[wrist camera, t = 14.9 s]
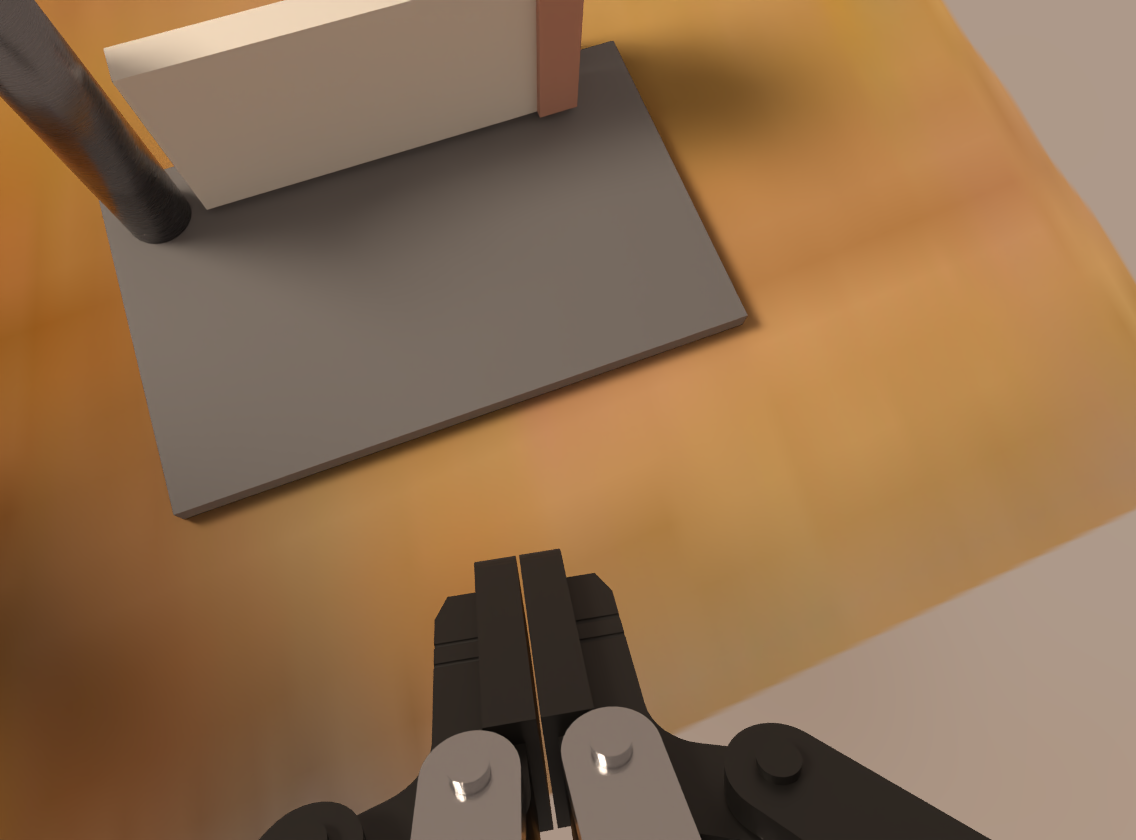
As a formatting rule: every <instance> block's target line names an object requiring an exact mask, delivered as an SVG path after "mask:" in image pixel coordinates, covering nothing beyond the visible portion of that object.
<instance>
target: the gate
mask: <svg viewBox="0 0 1136 840" xmlns="http://www.w3.org/2000/svg"><path fill="white" fill-rule="evenodd" d="M583 2H584V0H284V1H281V2H277V3H273V4H269V5H266V6H262V7H258V8H254V9H250V10H247V11H243V12H239V13H235V14H232V15H228V16H224V17H220V18H216V19H213V20H209V21H205V22H201V23H198V24H194V25H190V26H186V27H182V28H179V29H175V30H171V31H167V32H164V33H160V34H156V35H152V36H148V37H145V38H141V39H137V40H133V41H130V42H126V43H122V44H118V45H114V46H111V47H107V48H103V49H104V53H105V57H106V61H107V64H108V68H109V72H110V76H111V80H112V82H113V84H114V85H115V86H116V88H117V89H118V90H119V92H120V93H121V94H122V96H123V97H124V99H125V100H126V101H127V103H128V104H129V105H130V107H131V108H132V109H133V111H134V112H135V113H136V115H137V116H138V117H139V119H140V120H141V122H142V123H143V124H144V126H145V127H146V128H147V130H148V131H149V132H150V134H151V135H152V136H153V138H154V139H155V140H156V142H157V143H158V145H159V146H160V147H161V149H162V150H163V151H164V153H165V154H166V155H167V157H168V158H169V159H170V161H171V162H172V163H173V165H174V166H175V168H176V169H177V170H178V172H179V173H180V174H181V176H182V177H183V178H184V180H185V181H186V182H187V184H188V185H189V186H190V188H191V189H192V191H193V192H194V193H195V195H196V196H197V197H198V199H199V200H200V201H201V203H202V204H203V205H204V207H205V208H206V209H207V210H208V209H211V208H215V207H218V206H221V205H225V204H228V203H232V202H235V201H238V200H242V199H245V198H248V197H252V196H255V195H258V194H262V193H265V192H268V191H272V190H275V189H279V188H282V187H285V186H289V185H292V184H295V183H299V182H302V181H305V180H309V179H312V178H315V177H319V176H322V175H326V174H329V173H332V172H336V171H339V170H342V169H346V168H349V167H352V166H356V165H359V164H362V163H366V162H369V161H373V160H376V159H379V158H383V157H386V156H389V155H393V154H396V153H399V152H403V151H406V150H410V149H413V148H416V147H420V146H423V145H426V144H430V143H433V142H436V141H440V140H443V139H446V138H450V137H453V136H457V135H460V134H463V133H467V132H470V131H473V130H477V129H480V128H483V127H487V126H490V125H493V124H497V123H500V122H504V121H507V120H510V119H514V118H517V117H520V116H524V115H527V114H530V113H534V112H538V114H539V117H540V118H541V117H544V116H547V115H551V114H554V113H557V112H561V111H564V110H567V109H571V108H574V107H577V99H578V83H579V67H580V51H581V34H582V18H583Z"/></svg>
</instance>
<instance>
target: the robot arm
mask: <svg viewBox="0 0 1136 840" xmlns="http://www.w3.org/2000/svg"><path fill="white" fill-rule="evenodd" d="M519 557H520V565H521V573H522V580H523V588H524V595H525V603H526V610H527V618H528V625H529V633H530V640H531V648H532V655H533V663H534V670H535V678H536V685H537V693H538V700H539V708H540V715H541V722H542V728H543V735H544V741H545V748H546V754H547V760H548V767H549V773H550V780H551V786H552V793H553V799H554V805H555V812H556V818H557V824H558V828H562V827H567V826H571V829H572V836H573V840H991V839H989V838H987V837H985V836H984V835H982V834H980V833H978V832H977V831H975V830H973V829H972V828H970V827H968V826H966V825H965V824H963V823H961V822H959V821H958V820H956V819H954V818H953V817H951V816H949V815H947V814H945V813H944V812H942V811H940V810H939V809H937V808H935V807H934V806H932V805H930V804H928V803H927V802H925V801H923V800H922V799H920V798H918V797H916V796H915V795H913V794H911V793H909V792H908V791H906V790H904V789H902V788H901V787H899V786H897V785H895V784H894V783H892V782H890V781H888V780H887V779H885V778H883V777H882V776H880V775H878V774H877V773H875V772H873V771H871V770H870V769H868V768H866V767H864V766H862V765H861V764H859V763H858V762H856V761H854V760H852V759H851V758H849V757H847V756H845V755H843V754H842V753H840V752H838V751H836V750H835V749H833V748H831V747H830V746H828V745H826V744H825V743H823V742H821V741H819V740H818V739H816V738H814V737H813V736H811V735H809V734H807V733H806V732H804V731H801V730H800V729H797V728H795V727H792V726H789V725H784V724H779V723H763V724H758V725H753V726H751V727H748V728H746V729H744V730H742V731H741V732H739V733H738V734H737V735H736V736H735V737H734V738H733V739H732V740H731V742H730V743H729V745H728V746H720V745H711V744H702V743H695V742H689V741H686V740H683V739H680V738H678V737H676V736H674V735H671V734H670V733H668V732H667V731H665V730H664V729H662V728H661V727H660V726H659V725H658V724H657V723H656V722H655V721H654V720H653V719H652V718H651V716H650V714H649V713H648V711H647V708H646V706H645V703H644V700H643V696H642V693H641V689H640V686H639V682H638V679H637V675H636V672H635V669H634V665H633V662H632V658H631V655H630V651H629V648H628V644H627V641H626V637H625V636H624V630H623V627H622V623H621V620H620V618H619V613H618V609H617V606H616V603H615V599H614V596H613V592H612V590H611V589H610V588H609V587H608V586H607V585H606V584H605V583H604V582H603V581H602V580H601V579H600V578H599V577H598V576H597V575H596V574H595V573H591V574H585V575H579V576H573V577H567V578H566V574H565V569H564V565H563V560H562V555H561V551H560V549H554V550H548V551H542V552H535V553H529V554H523V555H519ZM474 571H475V592H476V593H470V594H464V595H457V596H451V597H447V599H446V601H445V603H444V604H443V606H442V608H441V610H440V612H439V613H438V615H437V617H436V619H435V631H434V646H435V649H434V676H433V721H432V747H431V752H430V754H429V755H428V756H427V758H426V759H425V761H424V763H423V765H422V767H421V769H420V773H419V776H418V777H417V778H416V779H415V780H414V781H413V782H412V783H411V784H410V785H409V786H408V787H407V788H406V789H405V790H403V791H402V792H400V793H399V794H398V795H396V796H394V797H393V798H391V799H389V800H387V801H385V802H383V803H381V804H379V805H377V806H375V807H373V808H371V809H369V810H367V811H365V812H363V813H361V814H359V815H356V814H355V813H354V812H353V811H352V810H351V809H349V808H348V807H346V806H344V805H342V804H339V803H334V802H317V803H312V804H308V805H304V806H302V807H300V808H297V809H295V810H293V811H292V812H290V813H288V814H286V815H285V816H284V817H282V818H281V819H280V820H278V821H277V822H276V823H275V824H274V825H273V826H272V827H271V828H269V830H268V831H267V832H266V833H265V834H264V835H263V836H262V837H261V838H260V839H259V840H540V832H543V831H548V830H553V821H552V814H551V806H550V798H549V791H548V783H547V775H546V768H545V760H544V752H543V745H542V737H541V729H540V722H539V714H538V706H537V699H536V691H535V683H534V676H533V668H532V661H531V653H530V646H529V639H528V632H527V625H526V619H525V612H524V606H523V600H522V593H521V587H520V580H519V574H518V567H517V561H516V556H512V557H505V558H499V559H493V560H487V561H480V562H475V563H474Z"/></svg>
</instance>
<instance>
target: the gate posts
mask: <svg viewBox="0 0 1136 840" xmlns="http://www.w3.org/2000/svg"><path fill="white" fill-rule="evenodd" d="M0 96H1V97H2V98H3V100H4V101H5V102H6V103H7V104H8V105H9V106H10V107H11V108H12V109H13V110H14V111H15V112H16V113H17V114H18V115H19V116H20V117H21V118H22V119H23V120H24V122H25V123H26V124H27V125H28V126H29V127H30V128H31V129H32V130H33V131H34V132H35V133H36V134H37V135H38V136H39V137H40V138H41V139H42V140H43V141H44V142H45V144H46V145H47V146H48V147H49V148H50V149H51V150H52V151H53V152H54V153H55V154H56V155H57V156H58V157H59V158H60V159H61V160H62V161H63V162H64V163H65V164H66V166H67V167H68V168H69V169H70V170H71V171H72V172H73V173H74V174H75V175H76V176H77V177H78V178H79V179H80V180H81V181H82V182H83V183H84V184H85V185H86V186H87V187H88V189H89V190H90V191H91V192H92V193H93V194H94V195H95V196H96V197H97V198H98V199H99V200H100V201H101V202H102V203H103V204H104V205H105V206H106V207H107V208H108V209H109V211H110V212H111V213H112V214H113V215H114V216H115V217H116V218H117V219H118V220H119V221H120V222H121V223H122V224H123V225H124V226H125V227H126V228H127V229H128V230H129V231H130V233H131V234H132V235H133V236H134V237H136V238H137V239H138V240H140V241H142V242H145V243H149V244H161V243H165V242H168V241H171V240H173V239H175V238H176V237H178V236H179V235H181V234H182V233H183V232H184V231H185V229H186V228H187V226H188V225H189V222H190V219H191V206H190V204H189V202H188V200H187V199H186V198H185V196H184V195H183V194H182V192H181V191H180V190H179V189H178V187H177V186H176V185H175V183H174V182H173V181H172V179H171V178H170V177H169V175H168V174H167V173H166V172H165V170H164V169H163V168H162V166H161V165H160V164H159V162H158V161H157V160H156V158H155V157H154V156H153V155H152V153H151V152H150V151H149V149H148V148H147V147H146V145H145V144H144V143H143V142H142V140H141V139H140V138H139V136H138V135H137V134H136V132H135V131H134V130H133V128H132V127H131V126H130V125H129V123H128V122H127V121H126V119H125V118H124V117H123V115H122V114H121V113H120V111H119V110H118V109H117V108H116V106H115V105H114V104H113V102H112V101H111V100H110V98H109V97H108V96H107V95H106V93H105V92H104V91H103V89H102V88H101V87H100V85H99V84H98V83H97V81H96V80H95V79H94V78H93V76H92V75H91V74H90V72H89V71H88V70H87V68H86V67H85V66H84V64H83V63H82V62H81V61H80V59H79V58H78V57H77V55H76V54H75V53H74V51H73V50H72V49H71V47H70V46H69V45H68V44H67V42H66V41H65V40H64V38H63V37H62V36H61V34H60V33H59V32H58V31H57V29H56V28H55V27H54V25H53V24H52V23H51V21H50V20H49V19H48V17H47V16H46V15H45V14H44V12H43V11H42V10H41V8H40V7H39V6H38V4H37V3H36V2H35V0H0Z"/></svg>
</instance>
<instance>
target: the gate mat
mask: <svg viewBox="0 0 1136 840" xmlns="http://www.w3.org/2000/svg"><path fill="white" fill-rule="evenodd" d="M164 170H165V172H166V173H167V174H168V175H169V177H170V178H171V179H172V181H173V182H174V183H175V185H176V186H177V187H178V189H179V190H180V191H181V192H182V194H183V195H184V196H185V198H186V199H187V200H188V202H189V204H190V206H191V219H190V222H189V225H188V226H187V228H186V229H185V231H184V232H183V233H182V234H181V235H179V236H178V237H176V238H175V239H173V240H171V241H168V242H165V243H161V244H149V243H145V242H142V241H140V240H138V239H137V238H136V237H134V236H133V235H132V234H131V233H130V231H129V230H128V229H127V228H126V227H125V226H124V225H123V224H122V223H121V222H120V221H119V220H118V219H117V218H116V217H115V216H114V215H113V214H112V213H111V212H110V211H109V209H108V208H107V207H106V206H105V205H104V204H103V203H102V202H101V201H100V200H99V202H100V206H101V210H102V215H103V219H104V223H105V227H106V232H107V236H108V240H109V244H110V248H111V253H112V257H113V261H114V265H115V270H116V274H117V278H118V282H119V286H120V291H121V295H122V299H123V303H124V308H125V312H126V316H127V320H128V324H129V329H130V333H131V337H132V341H133V346H134V350H135V354H136V358H137V362H138V367H139V371H140V375H141V379H142V384H143V388H144V392H145V396H146V400H147V405H148V409H149V413H150V417H151V422H152V426H153V430H154V434H155V438H156V443H157V447H158V451H159V455H160V460H161V464H162V468H163V472H164V476H165V481H166V485H167V489H168V493H169V498H170V502H171V506H172V510H173V514H174V515H175V516H177V517H180V518H182V519H186V518H189V517H192V516H194V515H197V514H200V513H203V512H206V511H209V510H212V509H215V508H217V507H220V506H223V505H226V504H229V503H232V502H235V501H237V500H240V499H243V498H246V497H249V496H252V495H255V494H257V493H260V492H263V491H266V490H269V489H272V488H275V487H278V486H280V485H283V484H286V483H289V482H292V481H295V480H298V479H300V478H303V477H306V476H309V475H312V474H315V473H318V472H321V471H323V470H326V469H329V468H332V467H335V466H338V465H341V464H343V463H346V462H349V461H352V460H355V459H358V458H361V457H363V456H366V455H369V454H372V453H375V452H378V451H381V450H384V449H386V448H389V447H392V446H395V445H398V444H401V443H404V442H406V441H409V440H412V439H415V438H418V437H421V436H424V435H427V434H429V433H432V432H435V431H438V430H441V429H444V428H447V427H449V426H452V425H455V424H458V423H461V422H464V421H467V420H469V419H472V418H475V417H478V416H481V415H484V414H487V413H490V412H492V411H495V410H498V409H501V408H504V407H507V406H510V405H512V404H515V403H518V402H521V401H524V400H527V399H530V398H533V397H535V396H538V395H541V394H544V393H547V392H550V391H553V390H555V389H558V388H561V387H564V386H567V385H570V384H573V383H575V382H578V381H581V380H584V379H587V378H590V377H593V376H596V375H598V374H601V373H604V372H607V371H610V370H613V369H616V368H618V367H621V366H624V365H627V364H630V363H633V362H636V361H638V360H641V359H644V358H647V357H650V356H653V355H656V354H659V353H661V352H664V351H667V350H670V349H673V348H676V347H679V346H681V345H684V344H687V343H690V342H693V341H696V340H699V339H702V338H704V337H707V336H710V335H713V334H716V333H719V332H722V331H724V330H727V329H730V328H733V327H736V326H739V325H742V324H743V322H744V321H745V319H746V317H747V316H748V315H747V313H746V311H745V309H744V307H743V305H742V303H741V301H740V299H739V297H738V295H737V293H736V291H735V289H734V286H733V284H732V282H731V280H730V278H729V276H728V274H727V272H726V270H725V268H724V266H723V264H722V262H721V260H720V258H719V256H718V254H717V252H716V250H715V248H714V246H713V244H712V242H711V239H710V237H709V235H708V233H707V231H706V229H705V227H704V225H703V223H702V221H701V219H700V217H699V215H698V213H697V211H696V209H695V207H694V205H693V203H692V201H691V199H690V197H689V194H688V192H687V190H686V188H685V186H684V184H683V182H682V180H681V178H680V176H679V174H678V172H677V170H676V168H675V166H674V164H673V162H672V160H671V158H670V156H669V154H668V152H667V150H666V147H665V145H664V143H663V141H662V139H661V137H660V135H659V133H658V131H657V129H656V127H655V125H654V123H653V121H652V119H651V117H650V115H649V113H648V111H647V109H646V107H645V105H644V102H643V100H642V98H641V96H640V94H639V92H638V90H637V88H636V86H635V84H634V82H633V80H632V78H631V76H630V74H629V72H628V70H627V68H626V66H625V64H624V62H623V60H622V58H621V55H620V53H619V51H618V49H617V47H616V45H615V43H614V41H610V42H606V43H603V44H599V45H596V46H592V47H589V48H586V49H582V50H581V51H580V67H579V83H578V99H577V107H574V108H571V109H567V110H564V111H561V112H557V113H554V114H551V115H547V116H544V117H541V118H540V117H539V114H538V112H534V113H530V114H527V115H524V116H520V117H517V118H514V119H510V120H507V121H504V122H500V123H497V124H493V125H490V126H487V127H483V128H480V129H477V130H473V131H470V132H467V133H463V134H460V135H457V136H453V137H450V138H446V139H443V140H440V141H436V142H433V143H430V144H426V145H423V146H420V147H416V148H413V149H410V150H406V151H403V152H399V153H396V154H393V155H389V156H386V157H383V158H379V159H376V160H373V161H369V162H366V163H362V164H359V165H356V166H352V167H349V168H346V169H342V170H339V171H336V172H332V173H329V174H326V175H322V176H319V177H315V178H312V179H309V180H305V181H302V182H299V183H295V184H292V185H289V186H285V187H282V188H279V189H275V190H272V191H268V192H265V193H262V194H258V195H255V196H252V197H248V198H245V199H242V200H238V201H235V202H232V203H228V204H225V205H221V206H218V207H215V208H211V209H208V210H207V209H206V208H205V207H204V205H203V204H202V203H201V201H200V200H199V199H198V197H197V196H196V195H195V193H194V192H193V191H192V189H191V188H190V186H189V185H188V184H187V182H186V181H185V180H184V178H183V177H182V176H181V174H180V173H179V172H178V170H177V169H176V168H175V167H171V168H168V169H164Z"/></svg>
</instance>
